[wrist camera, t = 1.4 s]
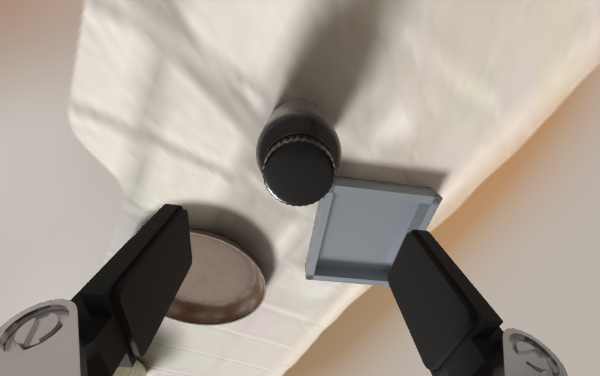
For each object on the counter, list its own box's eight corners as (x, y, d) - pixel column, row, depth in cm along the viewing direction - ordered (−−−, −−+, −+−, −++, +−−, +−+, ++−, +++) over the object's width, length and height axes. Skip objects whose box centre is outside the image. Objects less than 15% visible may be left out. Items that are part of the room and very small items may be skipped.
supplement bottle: (341, 131, 25) (373, 179, 15) (297, 170, 27) (298, 235, 17) (298, 82, 23) (301, 97, 12) (254, 129, 25) (224, 176, 14)
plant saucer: (218, 322, 43) (213, 341, 40) (110, 270, 35) (93, 288, 33) (294, 268, 36) (294, 285, 33) (179, 188, 29) (166, 202, 26)
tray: (324, 174, 28) (327, 184, 25) (431, 187, 29) (442, 198, 27) (305, 266, 35) (305, 279, 33) (390, 273, 36) (396, 286, 34)
